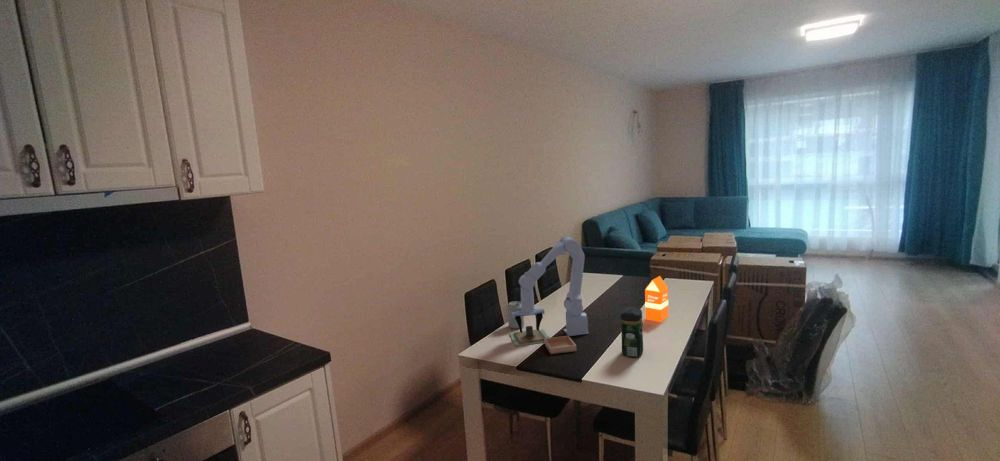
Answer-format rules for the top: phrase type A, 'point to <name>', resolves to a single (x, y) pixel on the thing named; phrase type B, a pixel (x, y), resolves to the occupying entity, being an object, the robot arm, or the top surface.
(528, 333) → the cover
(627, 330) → the coffee jar
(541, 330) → the mat
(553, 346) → the pink square tray
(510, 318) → the can
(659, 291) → the orange juice
